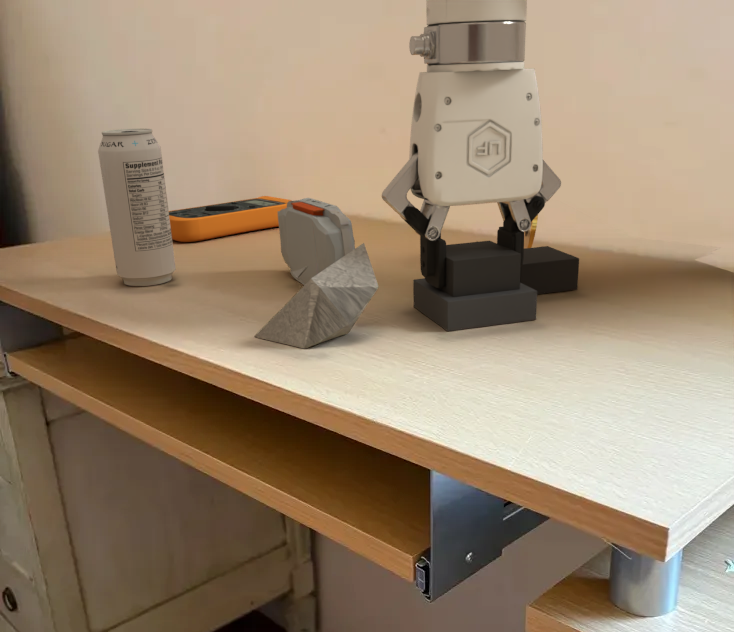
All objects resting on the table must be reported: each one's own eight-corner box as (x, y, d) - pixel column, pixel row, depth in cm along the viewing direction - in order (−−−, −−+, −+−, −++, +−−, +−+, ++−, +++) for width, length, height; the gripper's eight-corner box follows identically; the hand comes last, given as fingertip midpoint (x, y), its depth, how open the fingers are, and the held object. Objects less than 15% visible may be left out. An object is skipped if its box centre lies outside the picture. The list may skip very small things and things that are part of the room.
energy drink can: (156, 270, 91) (136, 127, 85) (188, 278, 87) (170, 129, 81) (107, 282, 87) (83, 132, 81) (138, 290, 83) (116, 134, 77)
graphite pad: (546, 275, 83) (547, 245, 82) (577, 289, 77) (579, 257, 76) (491, 282, 81) (492, 251, 80) (519, 296, 76) (520, 264, 75)
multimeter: (152, 237, 109) (148, 210, 108) (266, 218, 120) (264, 193, 119) (183, 246, 103) (179, 218, 102) (301, 225, 114) (299, 199, 112)
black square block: (489, 273, 74) (489, 240, 73) (519, 289, 69) (521, 253, 68) (426, 280, 73) (426, 246, 71) (453, 297, 67) (453, 260, 66)
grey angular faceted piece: (270, 348, 61) (217, 292, 67) (306, 396, 66) (253, 340, 72) (393, 246, 62) (330, 200, 68) (420, 301, 67) (358, 254, 73)
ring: (497, 252, 93) (498, 179, 90) (525, 251, 93) (527, 178, 90) (512, 266, 87) (514, 188, 84) (542, 265, 87) (545, 187, 84)
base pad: (494, 296, 76) (495, 270, 75) (536, 319, 69) (537, 290, 68) (413, 306, 74) (412, 279, 73) (447, 331, 67) (447, 301, 66)
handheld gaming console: (361, 296, 78) (357, 210, 75) (333, 301, 77) (328, 214, 74) (301, 267, 90) (296, 192, 87) (276, 271, 89) (270, 195, 86)
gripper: (384, 53, 58) (390, 302, 65) (600, 46, 63) (584, 279, 70) (354, 55, 65) (362, 281, 72) (552, 48, 69) (541, 261, 76)
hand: (472, 278), depth 71 cm, fingers closed on black square block, 6 cm apart
